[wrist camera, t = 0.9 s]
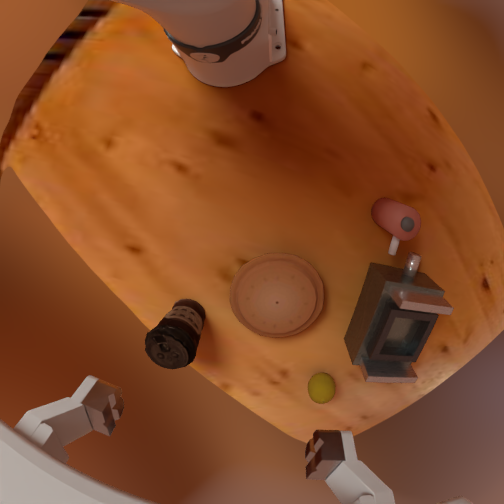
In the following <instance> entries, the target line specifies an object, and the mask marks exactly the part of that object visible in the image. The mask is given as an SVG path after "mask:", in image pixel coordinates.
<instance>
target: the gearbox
mask: <svg viewBox="0 0 504 504" xmlns="http://www.w3.org/2000/svg"><path fill="white" fill-rule="evenodd" d="M421 257H422V256H421V255H419V254H417V253H414V252H409V253H408V257H407V260H406V263H405V266H404V269H401V268H396V267H391V266H386V265H381V264H376V263H370V266H369V269H368V272H367V276H366V279H365V282H364V285H363V288H362V291H361V294H360V297H359V300H358V303H357V305H356V308H355V311H354V314H353V316H352V319H351V322H350V325H349V327H348V330H347V332H346V335H345V337H344V340H345V343H346V346H347V349H348V352H349V355H350V358H351V362H352V365H360V367H361V370H362V373H363V376H364V379H365V382H386V383H415V382H416V380H417V378H418V377H417V375H416V373H415V371H414V369H413V368H412V366H411V363H412V362H416V360H417V358H418V356H419V355H420V353H421V351H422V349H423V347H424V345H425V343H426V341H427V339H428V337H429V335H430V333H431V331H432V329H433V327H434V324H435V322H436V320H437V318H438V316H439V315H438V314H437V313H439V314H447V315H451V313H452V311H453V309H454V308H453V307H452V306H451V305H450V304H449V303H448V302H447V301H446V300H445V299H444V298H443V295H444V292H445V291H444V290H443V289H442V288H441V287H439V286H438V285H437V284H436V283H435V282H434V281H433V280H432V279H431V278H429V277H428V276H427V275H426V274H425V273H421V272H417V270H418V267H419V264H420V260H421Z"/></svg>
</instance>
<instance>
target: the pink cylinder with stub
mask: <svg viewBox="0 0 504 504" xmlns="http://www.w3.org/2000/svg"><path fill="white" fill-rule="evenodd" d="M371 215H372V218H373V220H374V222H375V223H376V224H378V225H379V226H381V227H382V228H384V229H385V230H387V231H388V232H390V233H391V234H392V235H393V237H392V241H391V244H390V248H389V251H388V253H389V254H391V255H396V251H397V248H398V245H399V241H400V240H403V241H407V240H410V239H412V238H414V237H415V236H416V235H417V233H418V232H419V230H420V226H421V219H420V215H419V213H418V212H417V211H416V210H415V209H414V208H412V207H409V206H407V205H404V204H402V203H399V202H397V201H394V200H391V199H389V198H380V199H378V200H377V201H376V202H375V203H374V204H373V206H372V210H371Z"/></svg>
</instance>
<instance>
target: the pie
mask: <svg viewBox="0 0 504 504" xmlns="http://www.w3.org/2000/svg"><path fill="white" fill-rule="evenodd" d="M323 300H324V291H323V282H322V280H321V278H320V276H319V274H318V272H317V271H316V270H315V269H314V268H313V267H312V266H311V265H310V263H309V262H307V261H305V260H303V259H302V258H300V257H298V256H296V255H291V254H286V253H267V254H265V255H262V256H259V257H257V258H254V259H252V260H251V261H249V262H247V263H246V264H244V265H243V266H242V267H241V268H240V269H239V271H238V272H237V273H236V275H235V276H234V279H233V282H232V285H231V288H230V303H231V307H232V310H233V313H234V314H235V316H236V317H237V319H238V320H239V322H241V323H242V324H243V325H244V326H246V327H247V328H248V329H250V330H251V331H253V332H255V333H257V334H259V335H262V336H268V337H286V336H290V335H294V334H297V333H299V332H301V331H302V330H304V329H306V328H307V327H309V326H310V325H311V324H312V323H313V322H314V321H315V320H316V319H317V317H318V315H319V314H320V312H321V310H322V308H323Z"/></svg>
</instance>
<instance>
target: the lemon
mask: <svg viewBox="0 0 504 504" xmlns="http://www.w3.org/2000/svg"><path fill="white" fill-rule="evenodd" d="M308 393H309V396H310V397H311V399H312V400H313V401H314V402H316V403H319V404H324V403H327V402H329V401H330V400H331V399H332V398H333V397H334V394H335V382H334V380H333V378H332V377H331V376H330V375H328V374H326V373H318V374H315V375H314V376H312V378H311V379H310V381H309V383H308Z"/></svg>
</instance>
